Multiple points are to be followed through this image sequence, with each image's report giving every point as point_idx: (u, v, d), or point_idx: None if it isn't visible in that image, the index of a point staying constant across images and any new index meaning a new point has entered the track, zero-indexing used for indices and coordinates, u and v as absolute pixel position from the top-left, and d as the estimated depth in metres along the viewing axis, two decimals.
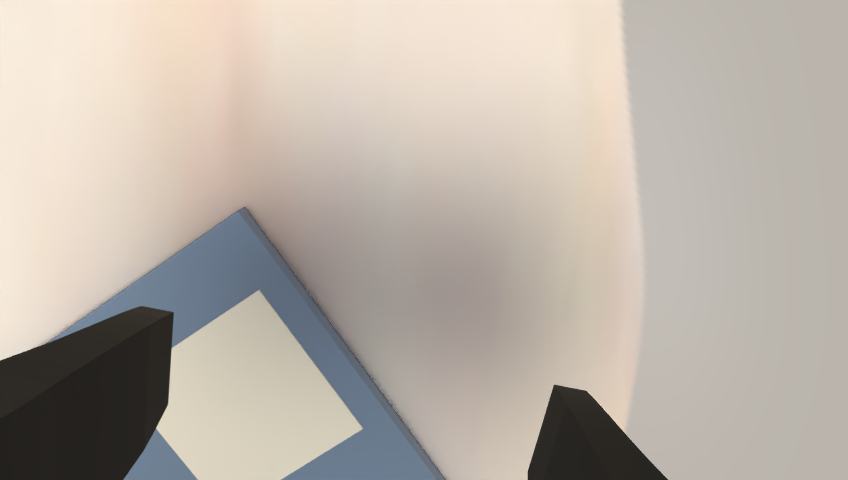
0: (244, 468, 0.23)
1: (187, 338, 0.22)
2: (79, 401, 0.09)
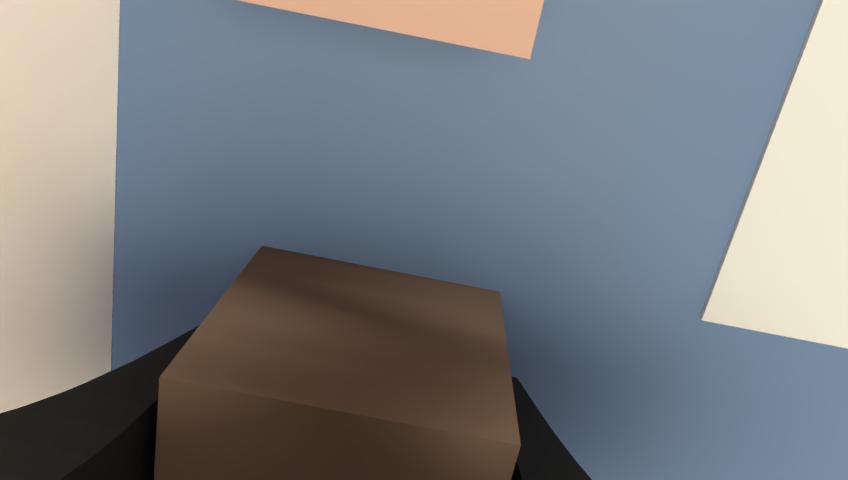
0: (810, 286, 0.12)
1: None
2: None
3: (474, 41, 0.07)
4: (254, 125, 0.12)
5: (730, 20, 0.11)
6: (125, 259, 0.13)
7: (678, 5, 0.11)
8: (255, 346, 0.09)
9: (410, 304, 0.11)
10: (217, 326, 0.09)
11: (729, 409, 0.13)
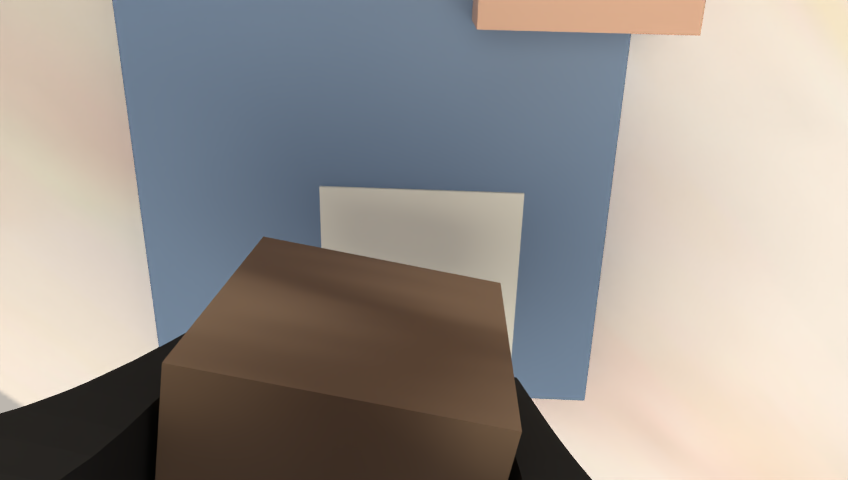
0: (355, 240, 0.20)
1: (516, 284, 0.20)
2: None
3: None
4: None
5: (496, 150, 0.19)
6: None
7: (500, 119, 0.19)
8: (257, 334, 0.09)
9: (411, 294, 0.11)
10: (218, 314, 0.09)
11: (262, 222, 0.20)
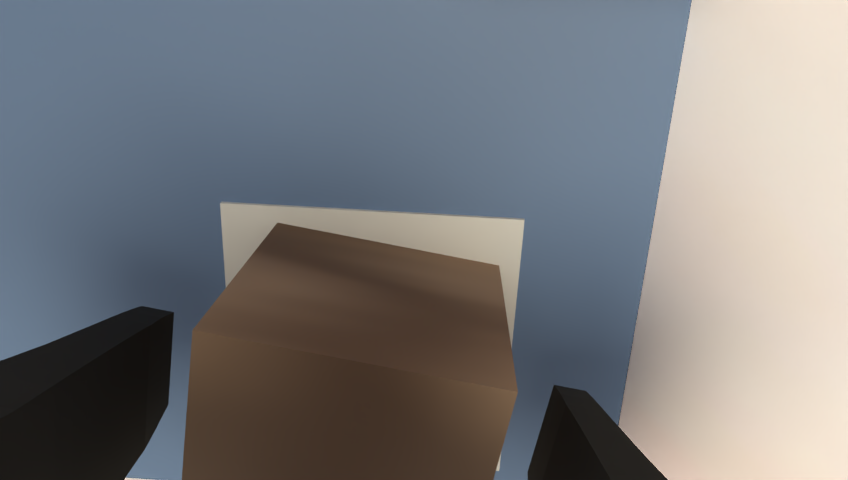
0: None
1: None
2: (79, 401, 0.09)
3: None
4: None
5: (484, 153, 0.13)
6: None
7: (491, 108, 0.12)
8: (277, 306, 0.10)
9: (416, 274, 0.12)
10: (241, 289, 0.10)
11: (139, 253, 0.14)
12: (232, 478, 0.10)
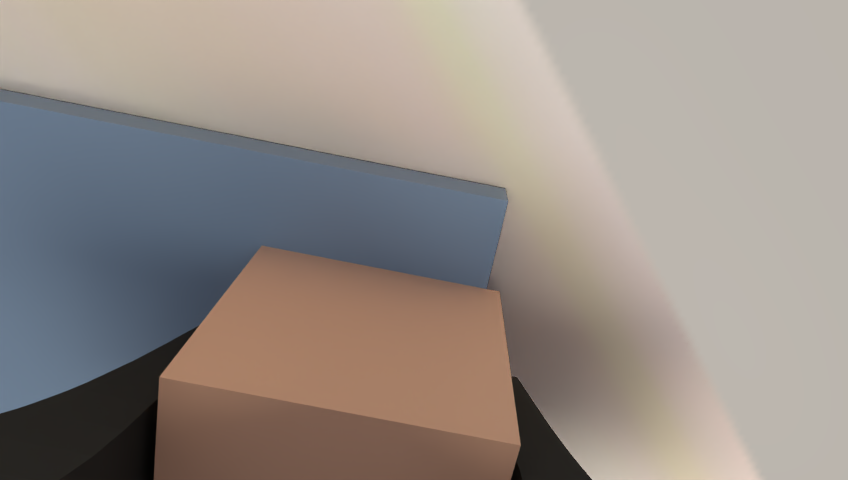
0: None
1: None
2: None
3: None
4: (137, 253, 0.12)
5: None
6: None
7: None
8: None
9: None
10: None
11: None
12: None
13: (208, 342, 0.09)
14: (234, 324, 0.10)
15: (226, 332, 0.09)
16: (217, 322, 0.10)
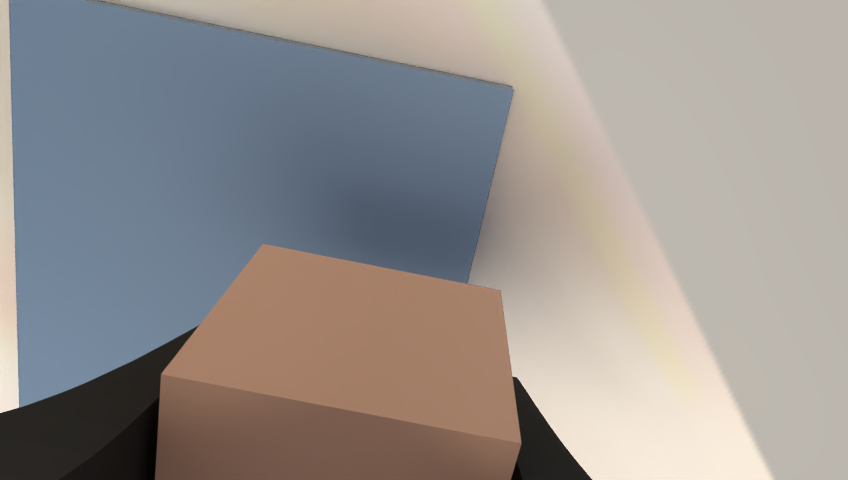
0: None
1: None
2: None
3: None
4: (269, 127, 0.19)
5: None
6: (170, 27, 0.18)
7: None
8: None
9: None
10: None
11: None
12: None
13: (210, 340, 0.09)
14: (235, 321, 0.10)
15: (228, 330, 0.09)
16: (219, 320, 0.10)
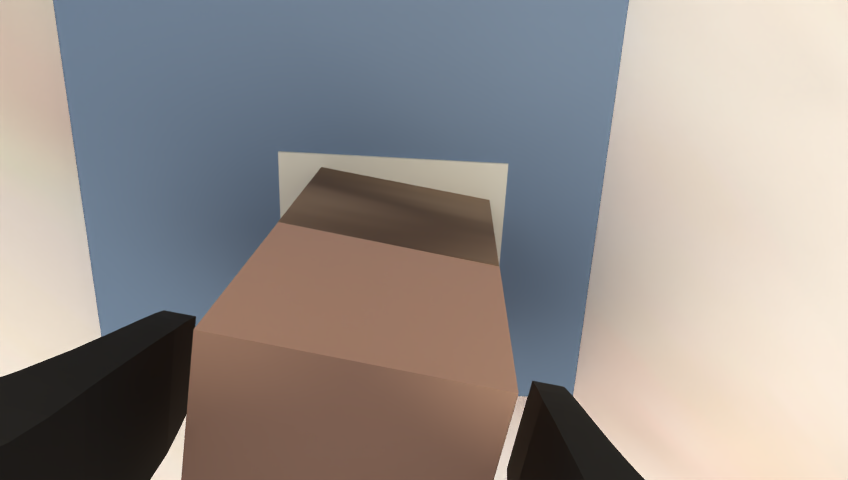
0: None
1: None
2: (108, 407, 0.09)
3: None
4: None
5: (477, 113, 0.17)
6: None
7: (483, 78, 0.17)
8: (331, 213, 0.14)
9: (427, 202, 0.16)
10: (304, 203, 0.14)
11: (214, 191, 0.18)
12: None
13: (235, 302, 0.10)
14: (257, 287, 0.10)
15: (250, 294, 0.10)
16: (242, 286, 0.10)
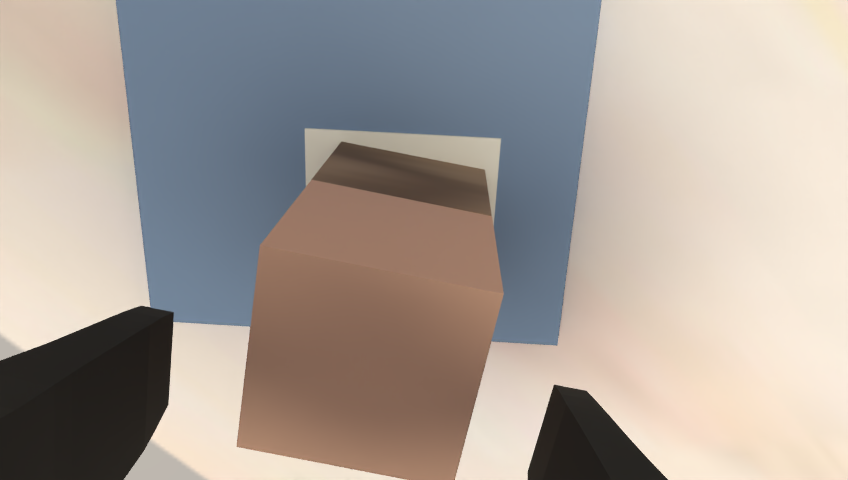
0: None
1: None
2: (79, 401, 0.09)
3: (241, 425, 0.13)
4: None
5: (474, 95, 0.20)
6: None
7: (479, 65, 0.20)
8: (353, 175, 0.17)
9: (432, 169, 0.19)
10: (330, 167, 0.17)
11: (249, 163, 0.21)
12: None
13: (287, 230, 0.13)
14: (301, 222, 0.13)
15: (297, 226, 0.13)
16: (290, 220, 0.13)
